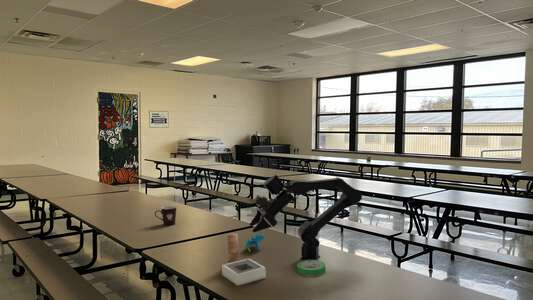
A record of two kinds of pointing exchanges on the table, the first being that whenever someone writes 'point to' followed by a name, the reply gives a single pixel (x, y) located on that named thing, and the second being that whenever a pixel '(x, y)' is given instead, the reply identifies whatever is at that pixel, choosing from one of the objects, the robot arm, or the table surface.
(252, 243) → the blue figurine
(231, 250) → the peg
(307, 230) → the robot arm
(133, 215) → the table surface
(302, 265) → the tape roll
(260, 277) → the bore box
